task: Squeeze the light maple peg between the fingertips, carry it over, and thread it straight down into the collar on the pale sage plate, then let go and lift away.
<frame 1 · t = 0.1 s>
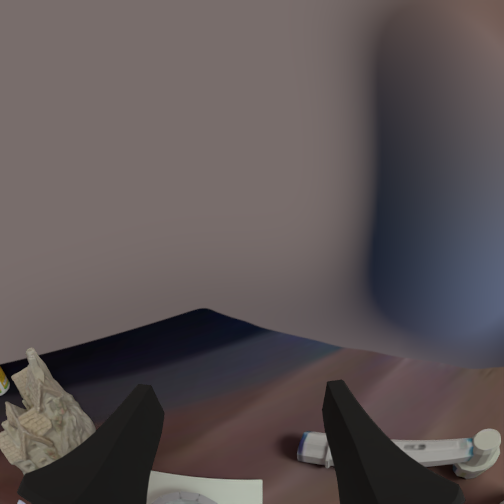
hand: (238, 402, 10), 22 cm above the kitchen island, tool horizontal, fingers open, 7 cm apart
ceramic cottage: (51, 437, 24), on the kitchen island
white handheld device: (400, 468, 21), on the kitchen island
supplement bottle: (1, 389, 30), on the kitchen island
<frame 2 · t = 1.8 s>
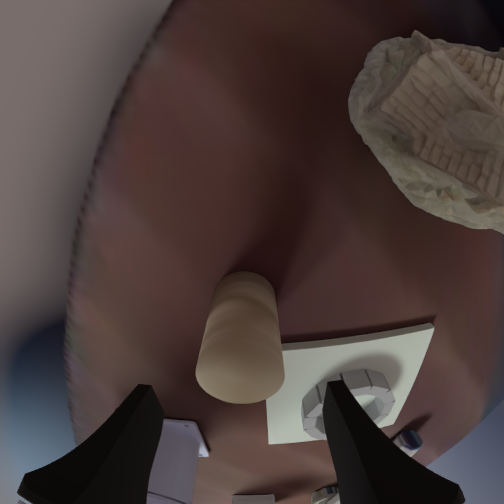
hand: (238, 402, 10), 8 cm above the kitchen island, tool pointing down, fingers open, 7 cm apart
ceramic cottage: (460, 114, 13), on the kitchen island
white handheld device: (355, 469, 30), on the kitchen island
supplement box: (255, 498, 34), on the kitchen island
maple peg: (244, 298, 18), on the kitchen island
collar plate: (343, 393, 22), on the kitchen island
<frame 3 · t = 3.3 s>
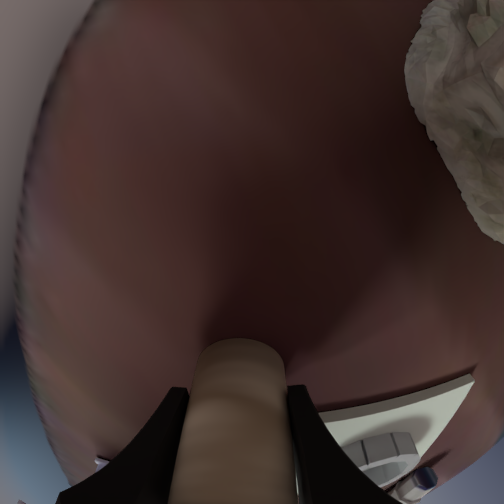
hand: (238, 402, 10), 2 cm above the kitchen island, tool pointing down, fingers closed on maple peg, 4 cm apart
white handheld device: (364, 501, 24), on the kitchen island
maple peg: (240, 370, 12), on the kitchen island, touching gripper
collar plate: (360, 451, 16), on the kitchen island
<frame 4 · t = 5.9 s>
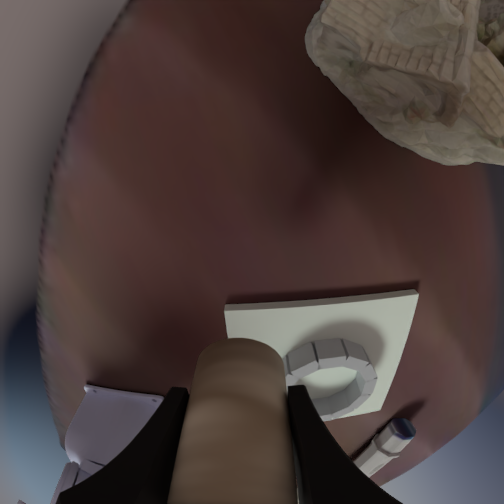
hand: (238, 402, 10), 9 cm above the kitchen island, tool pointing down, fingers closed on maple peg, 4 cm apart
ceramic cottage: (429, 54, 12), on the kitchen island
white handheld device: (343, 461, 30), on the kitchen island
maple peg: (240, 370, 12), point 7 cm above the kitchen island, touching gripper
collar plate: (320, 369, 21), on the kitchen island
when the fingers open (4 cm above the kitchen island, at t = 8.9 s): maple peg stays where it is, resting on collar plate.
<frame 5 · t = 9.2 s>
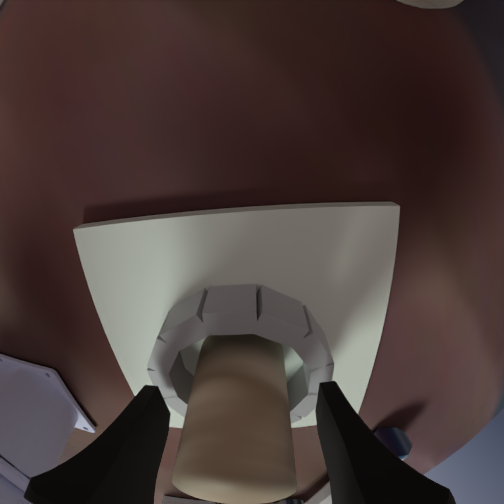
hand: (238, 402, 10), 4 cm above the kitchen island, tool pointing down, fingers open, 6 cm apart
white handheld device: (319, 479, 22), on the kitchen island
supplement box: (194, 503, 26), on the kitchen island
maple peg: (241, 356, 13), point 1 cm above the kitchen island, touching collar plate
collar plate: (242, 346, 14), on the kitchen island
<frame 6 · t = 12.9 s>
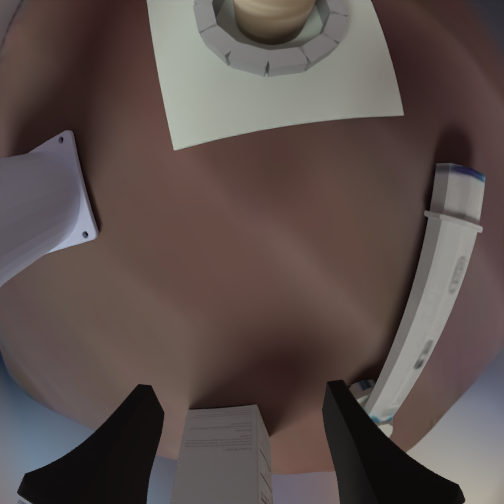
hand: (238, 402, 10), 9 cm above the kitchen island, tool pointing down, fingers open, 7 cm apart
white handheld device: (397, 316, 20), on the kitchen island
supplement box: (231, 423, 25), on the kitchen island
maple peg: (270, 18, 12), point 1 cm above the kitchen island, touching collar plate
collar plate: (269, 23, 12), on the kitchen island
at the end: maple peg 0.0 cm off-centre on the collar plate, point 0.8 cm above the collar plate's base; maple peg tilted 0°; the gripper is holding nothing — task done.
